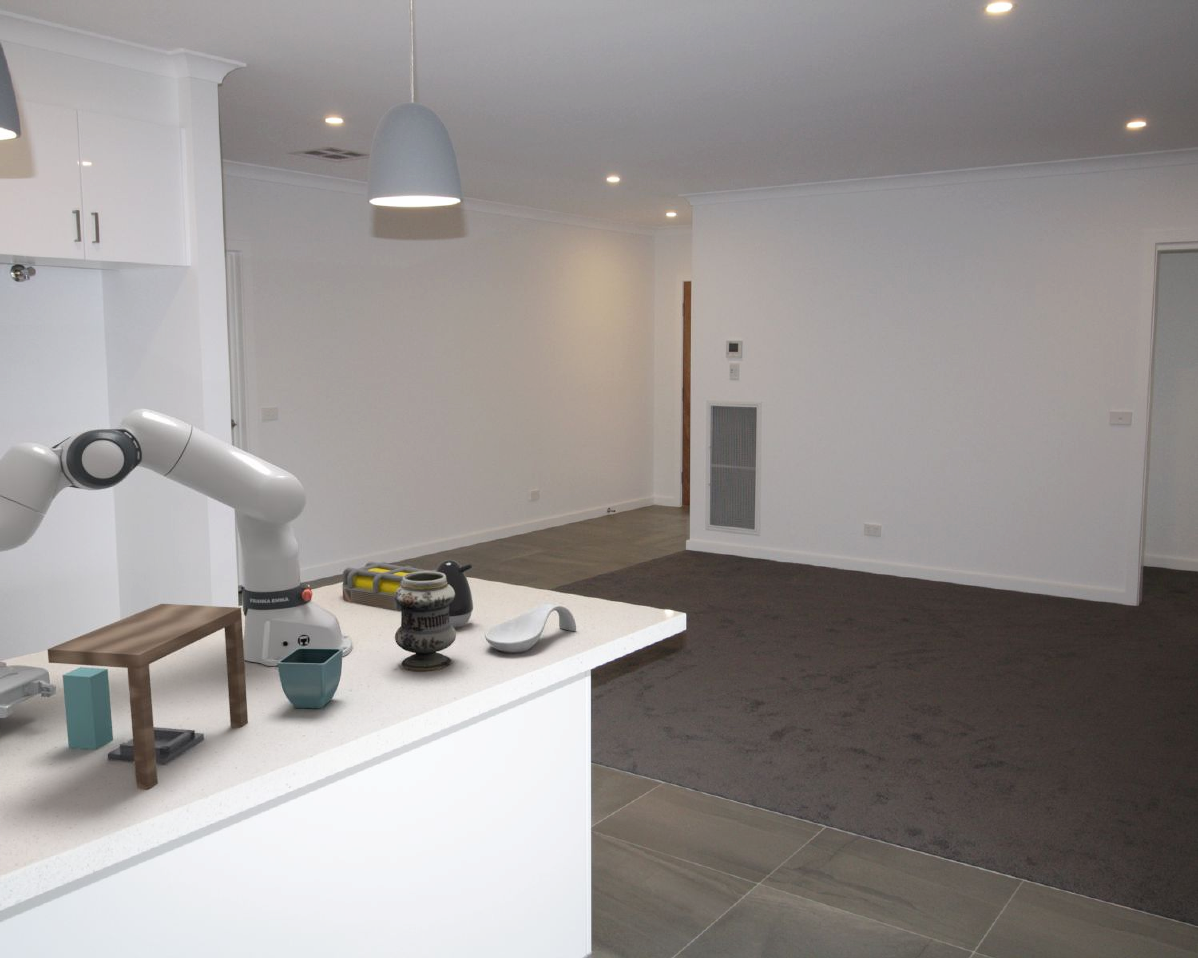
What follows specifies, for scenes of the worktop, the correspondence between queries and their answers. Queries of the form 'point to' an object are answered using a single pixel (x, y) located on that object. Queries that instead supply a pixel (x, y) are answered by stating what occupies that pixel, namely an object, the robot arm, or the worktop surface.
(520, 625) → the spoon rest
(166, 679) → the worktop surface
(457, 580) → the black rounded upright piece
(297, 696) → the flower pot
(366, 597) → the cage light
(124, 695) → the worktop surface
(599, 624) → the worktop surface
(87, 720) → the teal box
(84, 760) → the worktop surface
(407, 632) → the apothecary jar
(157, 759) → the seat cradle
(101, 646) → the overhang shelf
